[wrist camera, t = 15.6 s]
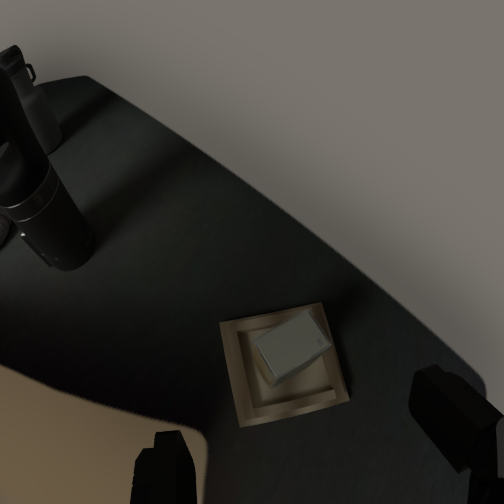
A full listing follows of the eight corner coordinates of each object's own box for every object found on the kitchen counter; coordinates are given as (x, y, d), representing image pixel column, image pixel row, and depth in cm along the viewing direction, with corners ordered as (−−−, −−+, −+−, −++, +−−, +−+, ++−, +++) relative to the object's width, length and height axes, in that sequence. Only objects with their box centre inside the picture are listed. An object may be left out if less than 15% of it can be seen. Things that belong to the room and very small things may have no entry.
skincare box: (293, 338, 40) (310, 305, 29) (311, 366, 38) (335, 343, 28) (249, 362, 38) (250, 338, 28) (267, 391, 37) (275, 379, 26)
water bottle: (34, 139, 63) (-7, 53, 39) (66, 126, 65) (29, 34, 41) (27, 165, 59) (-23, 72, 34) (61, 151, 60) (16, 49, 36)
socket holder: (240, 427, 35) (239, 427, 33) (219, 324, 42) (218, 318, 40) (347, 401, 37) (353, 399, 34) (320, 304, 43) (323, 297, 41)
